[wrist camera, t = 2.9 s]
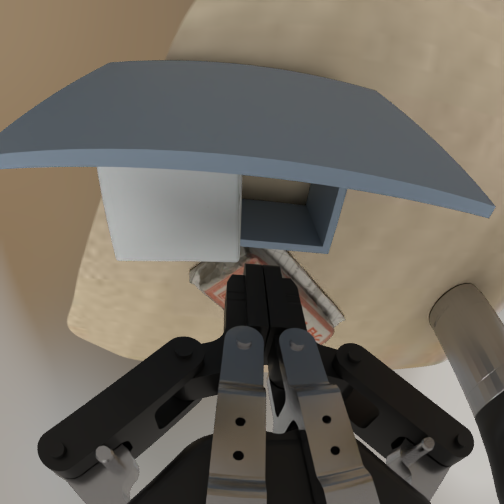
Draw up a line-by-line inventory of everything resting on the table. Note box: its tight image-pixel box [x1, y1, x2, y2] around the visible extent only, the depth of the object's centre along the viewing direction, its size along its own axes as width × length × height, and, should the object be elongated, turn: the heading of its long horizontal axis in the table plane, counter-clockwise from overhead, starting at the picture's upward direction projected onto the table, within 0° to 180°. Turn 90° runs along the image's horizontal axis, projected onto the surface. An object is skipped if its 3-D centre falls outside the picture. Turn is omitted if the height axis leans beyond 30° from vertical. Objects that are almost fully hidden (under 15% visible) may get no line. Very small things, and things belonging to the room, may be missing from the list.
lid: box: [0, 60, 496, 218], centre depth 11 cm, size 16×12×1 cm
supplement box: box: [97, 167, 242, 262], centre depth 20 cm, size 7×7×13 cm
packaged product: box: [189, 246, 345, 345], centre depth 34 cm, size 18×5×10 cm
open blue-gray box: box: [240, 183, 347, 254], centre depth 22 cm, size 16×12×7 cm
